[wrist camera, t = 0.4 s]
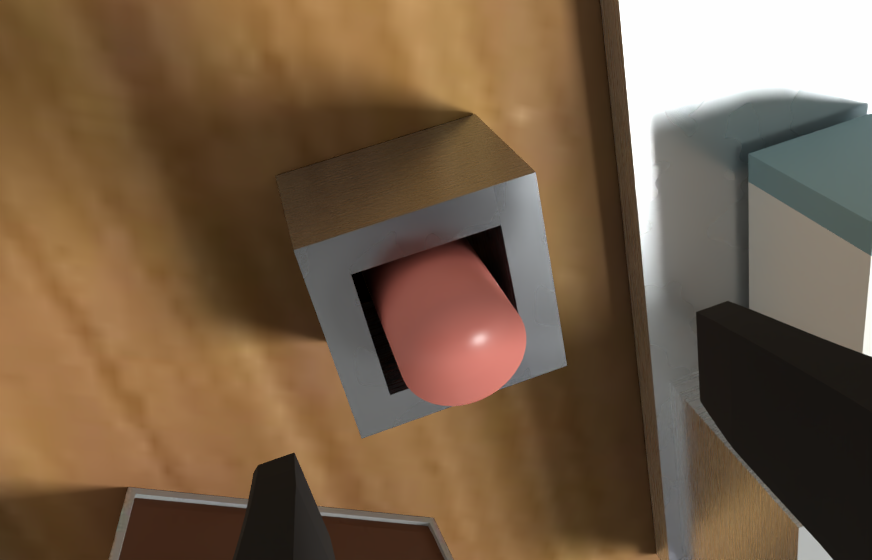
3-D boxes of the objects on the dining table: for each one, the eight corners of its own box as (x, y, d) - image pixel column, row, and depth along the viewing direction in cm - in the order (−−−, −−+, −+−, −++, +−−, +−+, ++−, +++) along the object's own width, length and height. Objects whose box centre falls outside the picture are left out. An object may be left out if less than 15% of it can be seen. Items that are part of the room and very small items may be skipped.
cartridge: (851, 476, 28) (958, 578, 24) (750, 515, 27) (842, 627, 23) (885, 108, 21) (1046, 169, 17) (748, 153, 20) (881, 227, 16)
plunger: (476, 288, 20) (534, 380, 16) (377, 321, 19) (416, 422, 16) (455, 196, 18) (515, 276, 15) (348, 230, 18) (384, 319, 15)
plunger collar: (509, 284, 22) (566, 365, 18) (334, 343, 21) (361, 438, 18) (474, 114, 19) (535, 171, 16) (275, 175, 18) (293, 250, 15)
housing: (893, 462, 30) (1063, 612, 24) (656, 554, 29) (775, 736, 23) (971, -142, 19) (1315, -136, 13) (597, -32, 18) (792, 27, 12)
